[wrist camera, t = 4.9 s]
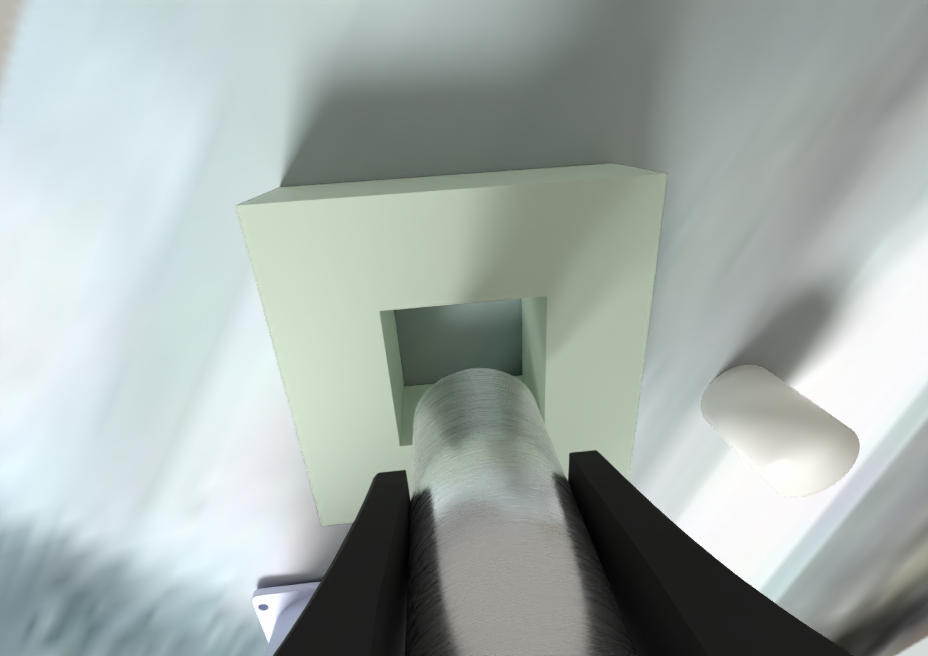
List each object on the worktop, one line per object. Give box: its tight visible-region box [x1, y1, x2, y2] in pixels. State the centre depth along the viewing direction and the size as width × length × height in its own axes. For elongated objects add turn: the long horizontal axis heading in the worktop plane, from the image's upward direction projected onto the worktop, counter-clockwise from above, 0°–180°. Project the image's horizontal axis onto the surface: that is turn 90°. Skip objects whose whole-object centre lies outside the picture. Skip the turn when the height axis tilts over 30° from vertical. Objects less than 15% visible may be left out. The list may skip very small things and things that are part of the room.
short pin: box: [701, 364, 859, 498], centre depth 19 cm, size 4×4×4 cm
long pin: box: [405, 368, 638, 656], centre depth 9 cm, size 4×4×8 cm
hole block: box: [235, 163, 668, 526], centre depth 17 cm, size 12×12×4 cm
